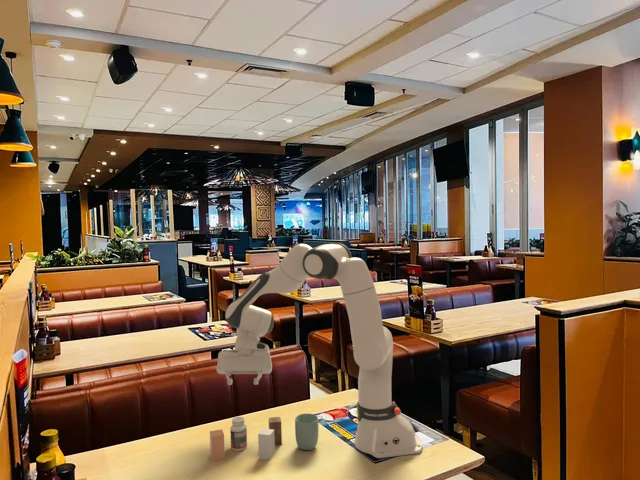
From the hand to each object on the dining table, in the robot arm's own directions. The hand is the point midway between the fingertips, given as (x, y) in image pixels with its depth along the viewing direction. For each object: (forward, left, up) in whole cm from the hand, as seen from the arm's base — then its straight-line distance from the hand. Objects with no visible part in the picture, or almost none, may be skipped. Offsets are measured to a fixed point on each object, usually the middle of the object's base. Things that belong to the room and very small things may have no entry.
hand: (242, 384), depth 171 cm
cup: (-23, +13, -17) cm, 32 cm away
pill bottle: (0, +12, -17) cm, 21 cm away
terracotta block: (+6, +18, -17) cm, 26 cm away
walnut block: (-12, +9, -17) cm, 23 cm away
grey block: (-10, +18, -17) cm, 27 cm away
